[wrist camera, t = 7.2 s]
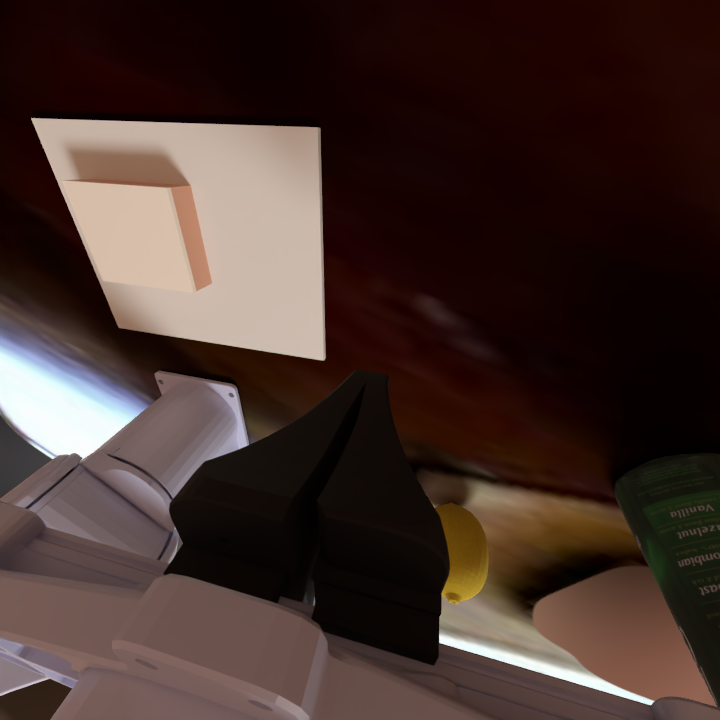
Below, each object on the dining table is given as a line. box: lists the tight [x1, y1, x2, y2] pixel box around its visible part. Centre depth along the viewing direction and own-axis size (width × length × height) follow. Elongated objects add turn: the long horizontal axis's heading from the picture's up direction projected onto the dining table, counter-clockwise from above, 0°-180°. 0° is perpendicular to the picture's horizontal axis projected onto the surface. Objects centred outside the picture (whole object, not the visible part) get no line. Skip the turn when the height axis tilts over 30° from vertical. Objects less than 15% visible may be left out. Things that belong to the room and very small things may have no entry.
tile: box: [61, 179, 212, 293], centre depth 20 cm, size 6×2×7 cm
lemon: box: [435, 503, 489, 604], centre depth 26 cm, size 6×6×8 cm
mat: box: [31, 118, 326, 361], centre depth 21 cm, size 14×18×1 cm
